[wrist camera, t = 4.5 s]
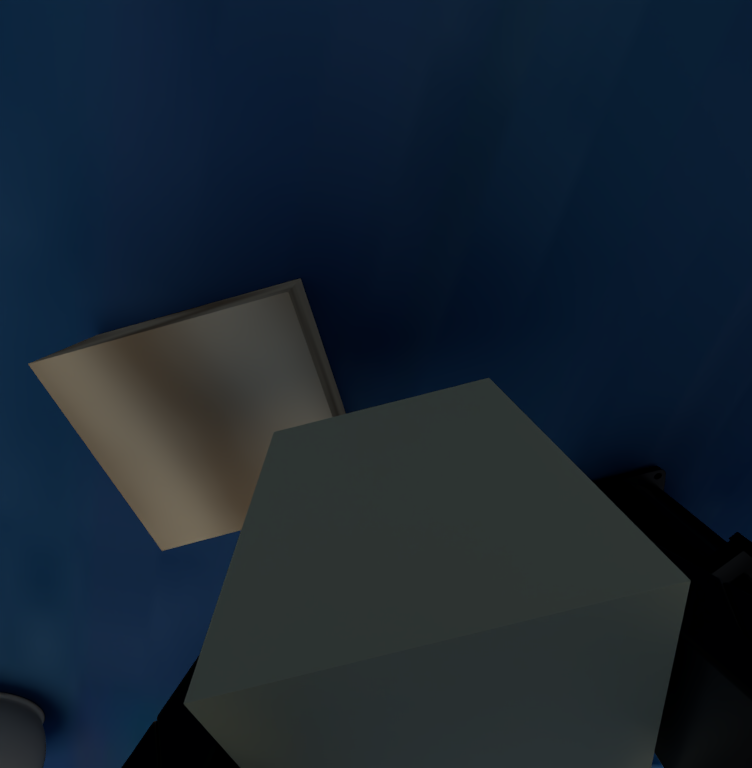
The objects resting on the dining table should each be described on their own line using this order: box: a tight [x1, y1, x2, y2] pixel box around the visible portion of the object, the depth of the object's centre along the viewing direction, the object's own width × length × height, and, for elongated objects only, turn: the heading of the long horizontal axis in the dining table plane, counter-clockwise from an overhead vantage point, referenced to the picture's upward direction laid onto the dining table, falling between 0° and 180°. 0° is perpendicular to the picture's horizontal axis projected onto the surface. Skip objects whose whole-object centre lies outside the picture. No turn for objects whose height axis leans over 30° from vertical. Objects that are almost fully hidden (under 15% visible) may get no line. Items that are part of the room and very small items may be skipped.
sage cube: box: [184, 378, 691, 768], centre depth 7 cm, size 5×5×5 cm
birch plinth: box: [29, 278, 346, 551], centre depth 17 cm, size 10×10×4 cm
